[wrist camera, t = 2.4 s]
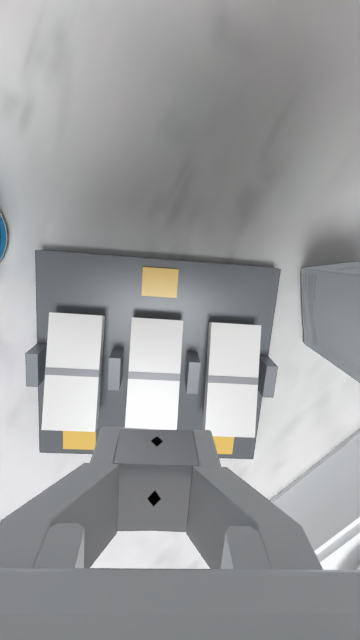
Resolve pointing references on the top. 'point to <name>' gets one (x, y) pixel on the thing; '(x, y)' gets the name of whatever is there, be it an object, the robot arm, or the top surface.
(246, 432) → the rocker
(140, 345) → the rocker
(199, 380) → the switch unit
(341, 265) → the skincare box
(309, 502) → the white domed box
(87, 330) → the block
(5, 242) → the beverage bottle
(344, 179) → the top surface
